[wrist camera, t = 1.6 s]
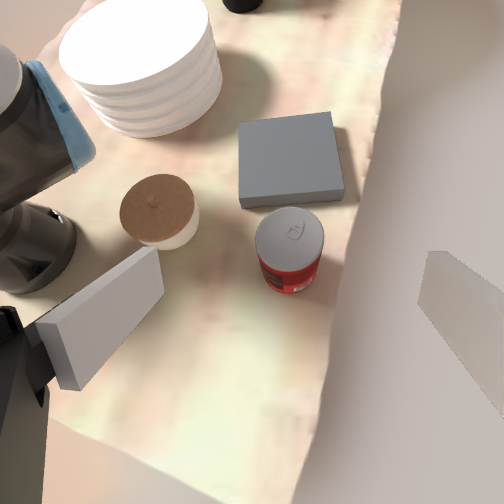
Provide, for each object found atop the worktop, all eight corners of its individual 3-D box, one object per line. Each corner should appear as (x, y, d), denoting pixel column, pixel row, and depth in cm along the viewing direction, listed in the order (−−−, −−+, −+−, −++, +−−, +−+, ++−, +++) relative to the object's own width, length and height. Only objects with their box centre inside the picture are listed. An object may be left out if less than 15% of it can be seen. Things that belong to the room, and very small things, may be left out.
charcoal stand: (241, 208, 46) (238, 198, 43) (241, 135, 52) (238, 122, 49) (341, 200, 44) (344, 188, 41) (328, 125, 50) (330, 111, 48)
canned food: (322, 252, 41) (332, 214, 31) (307, 302, 39) (313, 279, 29) (273, 238, 43) (268, 198, 33) (255, 286, 40) (244, 258, 30)
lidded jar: (168, 194, 49) (142, 156, 40) (219, 215, 46) (203, 180, 37) (132, 244, 46) (96, 216, 37) (185, 270, 43) (159, 246, 34)
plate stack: (101, 64, 67) (66, 7, 56) (214, 36, 66) (200, -28, 55) (94, 151, 56) (49, 101, 45) (231, 120, 54) (217, 60, 44)
